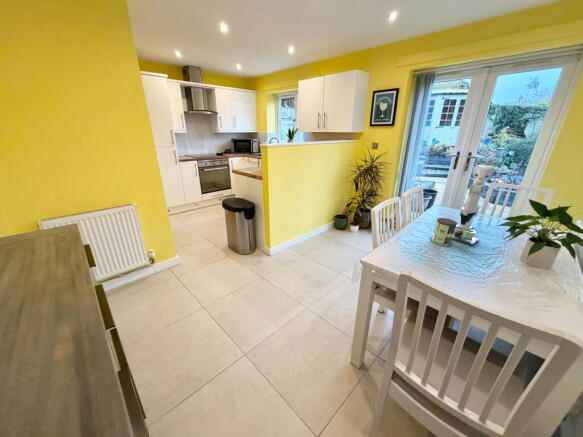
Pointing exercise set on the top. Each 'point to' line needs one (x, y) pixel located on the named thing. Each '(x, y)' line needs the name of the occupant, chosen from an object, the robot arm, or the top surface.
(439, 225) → the coffee can
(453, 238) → the scale
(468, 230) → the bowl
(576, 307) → the top surface
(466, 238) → the scale pan
